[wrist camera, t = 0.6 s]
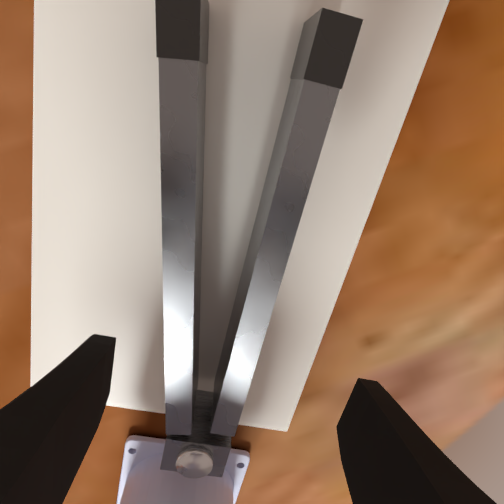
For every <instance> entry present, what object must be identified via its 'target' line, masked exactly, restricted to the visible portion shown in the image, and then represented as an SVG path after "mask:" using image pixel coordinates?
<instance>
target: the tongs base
mask: <svg viewBox="0 0 504 504" xmlns="http://www.w3.org/2000/svg"><path fill="white" fill-rule="evenodd" d="M362 22H363V19H360V18H357V17H353V16H350V15H347V14H343V13H340V12H336V11H333V10H329V9H326V8H321V9H320V10H319V11H318V12H316V13H315V14H314V15H313V16H311V17H310V18H309V19H308V20H307V21H305V22H304V25H303V29H302V32H301V36H300V40H299V44H298V48H297V52H296V56H295V60H294V64H293V68H292V72H291V76H290V79H291V81H290V85H289V89H288V93H287V97H286V101H285V105H284V108H283V112H282V116H281V120H280V124H279V128H278V132H277V136H276V140H275V144H274V148H273V152H272V156H271V160H270V164H269V167H268V171H267V175H266V179H265V183H264V187H263V191H262V195H261V199H260V203H259V207H258V211H257V215H256V219H255V223H254V226H253V230H252V234H251V238H250V242H249V246H248V250H247V254H246V258H245V262H244V266H243V270H242V274H241V278H240V282H239V285H238V289H237V293H236V297H235V301H234V305H233V309H232V313H231V317H230V321H229V325H228V329H227V333H226V337H225V340H224V344H223V348H222V352H221V356H220V360H219V364H218V368H217V372H216V376H215V380H214V389H213V392H209V391H203V390H197V396H196V404H195V411H194V419H193V427H192V434H191V435H169V434H167V436H166V441H165V446H164V451H163V456H162V461H161V466H160V470H168V471H175V472H179V473H180V474H181V475H182V476H184V477H187V478H193V479H196V478H202V477H204V476H206V475H207V476H214V477H222V476H223V473H224V469H225V466H226V463H227V459H228V456H229V453H230V450H231V436H235V433H236V430H237V427H238V423H239V420H240V417H241V413H242V410H243V407H244V404H245V400H246V397H247V394H248V390H249V387H250V384H251V381H252V377H253V374H254V371H255V367H256V364H257V361H258V357H259V354H260V351H261V348H262V344H263V341H264V338H265V334H266V331H267V328H268V325H269V321H270V318H271V315H272V311H273V308H274V305H275V302H276V298H277V295H278V292H279V288H280V285H281V282H282V278H283V275H284V272H285V269H286V265H287V262H288V259H289V255H290V252H291V249H292V246H293V242H294V239H295V236H296V232H297V229H298V226H299V223H300V219H301V216H302V213H303V209H304V206H305V203H306V200H307V196H308V193H309V190H310V186H311V183H312V180H313V176H314V173H315V170H316V167H317V163H318V160H319V157H320V153H321V150H322V147H323V144H324V140H325V137H326V134H327V130H328V127H329V124H330V121H331V117H332V114H333V111H334V107H335V104H336V101H337V97H338V94H339V91H340V89H342V88H343V84H344V81H345V78H346V74H347V71H348V68H349V65H350V61H351V58H352V55H353V52H354V48H355V45H356V42H357V38H358V35H359V32H360V29H361V25H362Z"/></svg>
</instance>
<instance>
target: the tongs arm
mask: <svg viewBox="0 0 504 504" xmlns="http://www.w3.org/2000/svg"><path fill="white" fill-rule="evenodd" d="M155 12H156V57H158V60H159V111H160V162H161V213H162V263H163V314H164V365H165V416H166V434H169V435H191V434H192V427H193V419H194V411H195V404H196V396H197V388H198V373H199V334H200V296H201V257H202V218H203V179H204V140H205V101H206V64H208V40H209V2H208V0H155Z"/></svg>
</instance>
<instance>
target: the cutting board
mask: <svg viewBox="0 0 504 504" xmlns="http://www.w3.org/2000/svg"><path fill="white" fill-rule="evenodd" d="M208 2H209V40H208V64H206V101H205V140H204V179H203V218H202V257H201V296H200V334H199V373H198V388H197V390H203V391H209V392H213V389H214V380H215V376H216V372H217V368H218V364H219V360H220V356H221V352H222V348H223V344H224V340H225V337H226V333H227V329H228V325H229V321H230V317H231V313H232V309H233V305H234V301H235V297H236V293H237V289H238V285H239V282H240V278H241V274H242V270H243V266H244V262H245V258H246V254H247V250H248V246H249V242H250V238H251V234H252V230H253V226H254V223H255V219H256V215H257V211H258V207H259V203H260V199H261V195H262V191H263V187H264V183H265V179H266V175H267V171H268V167H269V164H270V160H271V156H272V152H273V148H274V144H275V140H276V136H277V132H278V128H279V124H280V120H281V116H282V112H283V108H284V105H285V101H286V97H287V93H288V89H289V85H290V81H291V79H290V76H291V72H292V68H293V64H294V60H295V56H296V52H297V48H298V44H299V40H300V36H301V32H302V29H303V25H304V22H305V21H307V20H308V19H309V18H310V17H311V16H313V15H314V14H315V13H316V12H318V11H319V10H320V9H321V8H326V9H329V10H333V11H336V12H340V13H343V14H347V15H350V16H353V17H357V18H360V19H363V22H362V25H361V29H360V32H359V35H358V38H357V42H356V45H355V48H354V52H353V55H352V58H351V61H350V65H349V68H348V71H347V74H346V78H345V81H344V84H343V88H342V89H340V91H339V94H338V97H337V101H336V104H335V107H334V111H333V114H332V117H331V121H330V124H329V127H328V130H327V134H326V137H325V140H324V144H323V147H322V150H321V153H320V157H319V160H318V163H317V167H316V170H315V173H314V176H313V180H312V183H311V186H310V190H309V193H308V196H307V200H306V203H305V206H304V209H303V213H302V216H301V219H300V223H299V226H298V229H297V232H296V236H295V239H294V242H293V246H292V249H291V252H290V255H289V259H288V262H287V265H286V269H285V272H284V275H283V278H282V282H281V285H280V288H279V292H278V295H277V298H276V302H275V305H274V308H273V311H272V315H271V318H270V321H269V325H268V328H267V331H266V334H265V338H264V341H263V344H262V348H261V351H260V354H259V357H258V361H257V364H256V367H255V371H254V374H253V377H252V381H251V384H250V387H249V390H248V394H247V397H246V400H245V404H244V407H243V410H242V413H241V417H240V420H239V423H238V425H245V426H252V427H259V428H266V429H273V430H280V431H286V432H287V430H288V427H289V425H290V422H291V419H292V417H293V414H294V411H295V409H296V406H297V404H298V401H299V398H300V396H301V393H302V390H303V388H304V385H305V382H306V380H307V377H308V374H309V372H310V369H311V366H312V364H313V361H314V358H315V356H316V353H317V350H318V348H319V345H320V342H321V340H322V337H323V335H324V332H325V329H326V327H327V324H328V321H329V319H330V316H331V313H332V311H333V308H334V305H335V303H336V300H337V297H338V295H339V292H340V289H341V287H342V284H343V281H344V279H345V276H346V273H347V271H348V268H349V266H350V263H351V260H352V258H353V255H354V252H355V250H356V247H357V244H358V242H359V239H360V236H361V234H362V231H363V228H364V226H365V223H366V220H367V218H368V215H369V212H370V210H371V207H372V204H373V202H374V199H375V197H376V194H377V191H378V189H379V186H380V183H381V181H382V178H383V175H384V173H385V170H386V167H387V165H388V162H389V159H390V157H391V154H392V151H393V149H394V146H395V143H396V141H397V138H398V135H399V133H400V130H401V128H402V125H403V122H404V120H405V117H406V114H407V112H408V109H409V106H410V104H411V101H412V98H413V96H414V93H415V90H416V88H417V85H418V82H419V80H420V77H421V74H422V72H423V69H424V66H425V64H426V61H427V59H428V56H429V53H430V51H431V48H432V45H433V43H434V40H435V37H436V35H437V32H438V29H439V27H440V24H441V21H442V19H443V16H444V13H445V11H446V8H447V5H448V3H449V0H208ZM93 334H98V335H104V336H110V337H116V345H115V353H114V362H113V370H112V379H111V388H110V394H109V397H108V400H107V403H106V405H108V406H115V407H122V408H129V409H136V410H142V411H149V412H156V413H163V414H165V365H164V314H163V263H162V213H161V162H160V111H159V60H158V57H156V12H155V0H34V73H33V180H32V288H31V386H33V385H34V384H35V383H37V382H38V381H39V380H40V379H42V378H43V377H44V376H45V375H46V374H48V373H49V372H50V371H51V370H53V369H54V368H55V367H56V366H57V365H59V364H60V363H61V362H62V361H63V360H64V359H66V358H67V357H68V356H69V355H70V354H71V353H72V352H73V351H75V350H76V349H77V348H78V347H79V346H80V345H81V344H82V343H83V342H84V341H85V340H87V339H88V338H89V337H90V336H91V335H93Z"/></svg>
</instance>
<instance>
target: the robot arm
mask: <svg viewBox="0 0 504 504" xmlns="http://www.w3.org/2000/svg"><path fill="white" fill-rule="evenodd" d="M115 345H116V337H110V336H104V335H98V334H93V335H91V336H90V337H89V338H88V339H87V340H85V341H84V342H83V343H82V344H81V345H80V346H79V347H78V348H77V349H76V350H75V351H73V352H72V353H71V354H70V355H69V356H68V357H67V358H66V359H64V360H63V361H62V362H61V363H60V364H59V365H57V366H56V367H55V368H54V369H53V370H51V371H50V372H49V373H48V374H46V375H45V376H44V377H43V378H42V379H40V380H39V381H38V382H37V383H35V384H34V385H33V386H31V387H30V388H29V389H27V390H26V391H25V392H23V393H22V394H21V395H19V396H18V397H17V398H15V399H14V400H13V401H11V402H10V403H9V404H7V405H6V406H4V407H3V408H2V409H0V504H62V503H63V501H64V499H65V497H66V495H67V493H68V490H69V488H70V486H71V484H72V482H73V480H74V478H75V476H76V473H77V471H78V469H79V467H80V465H81V463H82V461H83V459H84V456H85V454H86V452H87V450H88V448H89V446H90V444H91V441H92V439H93V437H94V435H95V433H96V431H97V428H98V426H99V423H100V420H101V417H102V414H103V412H104V409H105V406H106V403H107V400H108V397H109V394H110V388H111V379H112V370H113V362H114V353H115ZM337 434H338V441H339V448H340V455H341V461H342V465H343V469H344V473H345V476H346V480H347V484H348V488H349V491H350V495H351V499H352V502H353V504H496V503H495V502H494V501H493V500H492V499H491V498H490V497H489V496H487V495H486V494H485V493H484V492H483V491H482V490H481V489H480V488H479V487H477V486H476V485H475V484H474V483H473V482H472V481H471V480H470V479H469V478H468V477H467V476H466V475H465V474H464V473H463V472H462V471H461V470H460V469H459V468H458V467H457V466H456V465H455V464H453V462H452V461H451V460H450V459H449V458H447V456H446V455H445V454H444V453H443V452H442V451H441V450H440V449H439V448H438V447H437V446H436V445H435V444H434V443H433V442H432V441H431V439H430V438H429V437H428V436H427V435H426V434H425V433H424V432H423V431H422V430H421V429H420V428H419V426H418V425H417V424H416V423H415V422H414V421H413V420H412V419H411V418H410V416H409V415H408V414H407V413H406V412H405V411H404V410H403V409H402V408H401V406H400V405H399V404H398V403H397V402H396V401H395V400H394V399H393V398H392V396H391V395H390V394H389V393H388V392H387V391H386V390H385V389H384V388H383V387H382V386H381V385H380V384H379V383H378V382H377V381H372V380H366V379H360V378H358V380H357V382H356V384H355V386H354V389H353V391H352V393H351V395H350V398H349V400H348V402H347V404H346V407H345V409H344V411H343V413H342V416H341V418H340V420H339V422H338V425H337ZM165 441H166V439H159V438H152V437H145V436H137V435H132V436H129V437H128V438H127V440H126V443H125V449H124V456H123V463H122V470H121V476H120V483H119V490H118V497H117V503H116V504H235V503H236V500H237V497H238V494H239V491H240V488H241V485H242V482H243V479H244V476H245V473H246V470H247V467H248V464H249V461H250V454H249V452H247V451H245V450H239V449H232V448H231V450H230V453H229V456H228V459H227V463H226V466H225V469H224V473H223V476H222V477H214V476H207V475H206V476H204V477H202V478H196V479H193V478H187V477H184V476H182V475H181V474H180V473H179V472H175V471H168V470H160V466H161V461H162V456H163V451H164V446H165ZM133 448H134V449H133Z"/></svg>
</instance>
